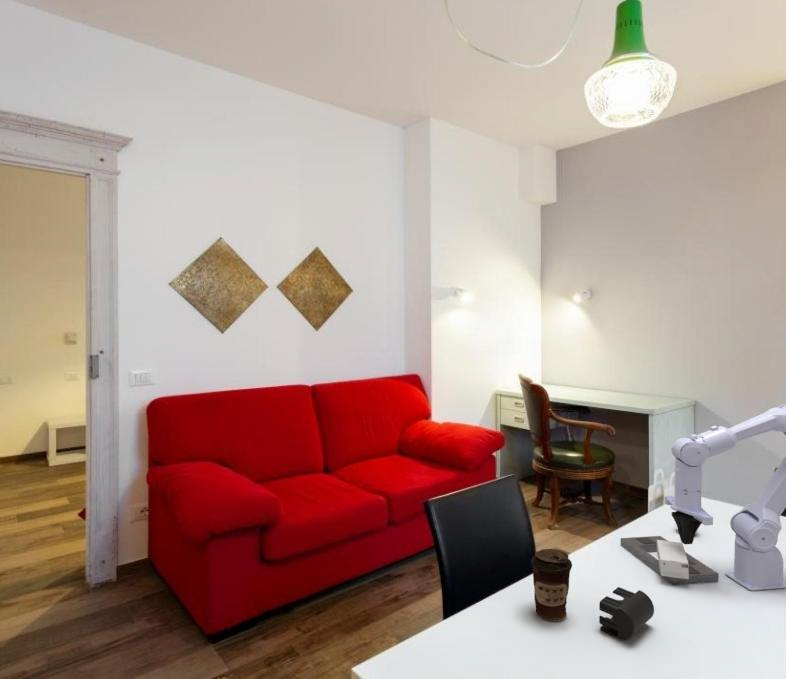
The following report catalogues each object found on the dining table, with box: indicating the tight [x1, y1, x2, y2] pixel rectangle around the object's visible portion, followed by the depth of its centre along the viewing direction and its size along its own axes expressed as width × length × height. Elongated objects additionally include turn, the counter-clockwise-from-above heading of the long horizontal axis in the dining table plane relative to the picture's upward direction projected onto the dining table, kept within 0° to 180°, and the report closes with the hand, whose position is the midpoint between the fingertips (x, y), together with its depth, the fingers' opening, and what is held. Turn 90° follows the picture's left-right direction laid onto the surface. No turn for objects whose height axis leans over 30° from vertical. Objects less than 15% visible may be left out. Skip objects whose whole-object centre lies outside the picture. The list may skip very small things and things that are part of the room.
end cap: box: [598, 586, 655, 641], centre depth 105 cm, size 10×7×7 cm
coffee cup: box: [530, 548, 573, 622], centre depth 110 cm, size 9×8×13 cm
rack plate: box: [620, 535, 720, 586], centre depth 135 cm, size 12×22×2 cm, turn 7°
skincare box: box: [656, 540, 689, 579], centre depth 128 cm, size 6×4×12 cm
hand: (686, 543), depth 127 cm, fingers closed
